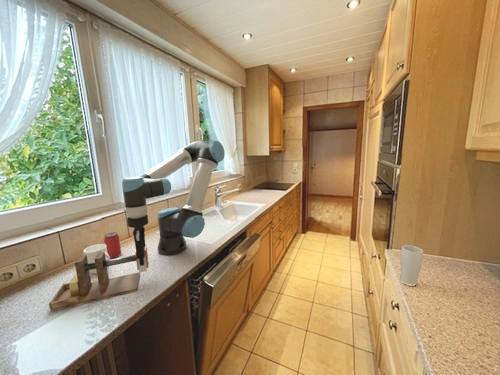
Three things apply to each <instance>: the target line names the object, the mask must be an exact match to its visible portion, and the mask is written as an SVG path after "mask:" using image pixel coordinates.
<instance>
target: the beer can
mask: <svg viewBox="0 0 500 375" xmlns="http://www.w3.org/2000/svg"><path fill="white" fill-rule="evenodd" d="M103 241H104V243H103V244H105V245H106V247H107V253H108V255H109V256H110V259H116V258H117V257H118V258H119V256H120V255H121V254H122V248H121V242H120V241H121V240H120V236H119V235H118V232H116V231H114V232H109V233H106V234H104V238H103Z"/></svg>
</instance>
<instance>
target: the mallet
mask: <svg viewBox="0 0 500 375" xmlns="http://www.w3.org/2000/svg"><path fill="white" fill-rule="evenodd" d="M144 255H145V259H146V267H147V269H149V266H150V265H149V264H150V263H149V255H148V246H147V245H146V246H144ZM136 257H137V255H136V250H135V254H134V255H133V254H132V255H129V256H127V255H126V256H123V257H122V256H121V257H118V258H117V257H115V258H110V260H109V259H108V260H106V261H103V267H107V266H109V267H112V266H116V265H122V264H127V263H132V262H136V268H137V269H136V270H137V271H139V265H138V259H136ZM84 269H85V271H87V270H92V269H96V266H95V263H89V264H85V266H84Z"/></svg>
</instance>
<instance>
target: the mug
mask: <svg viewBox="0 0 500 375" xmlns="http://www.w3.org/2000/svg"><path fill="white" fill-rule="evenodd" d="M103 251H105V258H106V260H111V258H110V256H109V255H108V253H107V247H106V245H105V243H99V244H93V245H89V246H88V247H86V248H84V249H83V255H85V254H86V255H87V260H88V264H89V263H95V260H94V259H95V257H96V256H97V254H98V252H103ZM109 267H110V266H107V269H108V268H109ZM89 272H90V275H92V274H95V275H96V274H97V272H96V269H92V270H89Z"/></svg>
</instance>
